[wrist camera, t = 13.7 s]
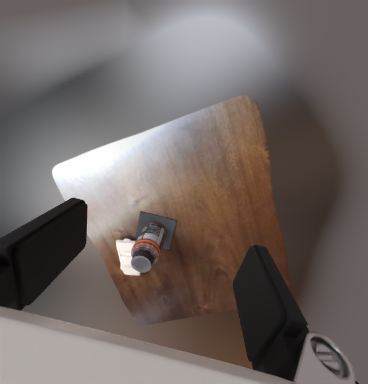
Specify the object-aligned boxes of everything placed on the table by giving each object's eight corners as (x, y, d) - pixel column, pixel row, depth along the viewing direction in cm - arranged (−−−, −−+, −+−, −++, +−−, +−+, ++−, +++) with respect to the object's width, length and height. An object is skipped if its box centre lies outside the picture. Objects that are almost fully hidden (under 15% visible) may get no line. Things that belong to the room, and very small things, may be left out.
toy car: (124, 270, 49) (119, 279, 46) (118, 234, 45) (111, 242, 41) (143, 271, 48) (139, 281, 45) (138, 236, 44) (133, 244, 41)
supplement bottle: (160, 244, 44) (148, 281, 34) (139, 234, 44) (120, 268, 33) (171, 227, 42) (161, 261, 32) (149, 216, 42) (132, 247, 31)
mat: (135, 240, 45) (135, 241, 45) (140, 211, 42) (140, 211, 41) (169, 249, 45) (169, 250, 45) (176, 220, 42) (176, 220, 41)
